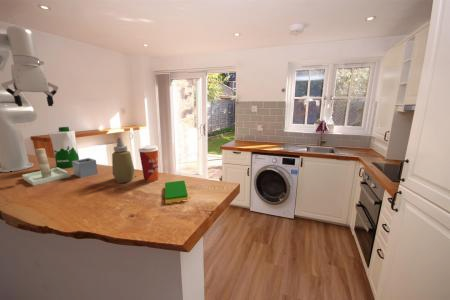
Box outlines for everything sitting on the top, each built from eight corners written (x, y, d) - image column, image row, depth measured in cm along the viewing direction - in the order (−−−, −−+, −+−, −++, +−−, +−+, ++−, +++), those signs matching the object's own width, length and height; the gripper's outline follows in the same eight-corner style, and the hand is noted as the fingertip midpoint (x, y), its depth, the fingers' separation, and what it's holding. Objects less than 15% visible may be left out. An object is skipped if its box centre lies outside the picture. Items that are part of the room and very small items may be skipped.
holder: (74, 176, 88) (71, 161, 86) (91, 172, 93) (88, 157, 92) (81, 179, 84) (78, 163, 83) (98, 175, 90) (95, 160, 88)
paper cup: (154, 183, 80) (151, 149, 77) (137, 182, 81) (133, 148, 78) (164, 176, 87) (162, 145, 84) (148, 175, 89) (145, 144, 86)
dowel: (41, 177, 84) (34, 149, 81) (50, 174, 86) (43, 147, 83) (43, 178, 82) (36, 150, 79) (52, 176, 85) (45, 148, 82)
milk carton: (82, 164, 107) (76, 126, 102) (74, 169, 98) (66, 128, 94) (63, 165, 105) (56, 127, 100) (53, 170, 96) (44, 129, 92)
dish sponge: (184, 185, 78) (184, 180, 78) (188, 202, 65) (187, 195, 65) (165, 188, 76) (165, 182, 76) (165, 205, 63) (165, 198, 63)
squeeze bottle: (110, 181, 83) (104, 137, 79) (130, 175, 88) (125, 135, 84) (118, 186, 77) (111, 140, 73) (138, 180, 83) (134, 137, 79)
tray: (23, 180, 84) (22, 174, 83) (58, 172, 93) (57, 167, 93) (34, 188, 76) (32, 181, 75) (71, 178, 86) (70, 172, 85)
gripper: (50, 66, 89) (58, 106, 93) (-8, 59, 75) (4, 106, 79) (56, 64, 85) (64, 105, 89) (-4, 57, 71) (8, 106, 75)
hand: (36, 106), depth 84 cm, fingers open, 9 cm apart
